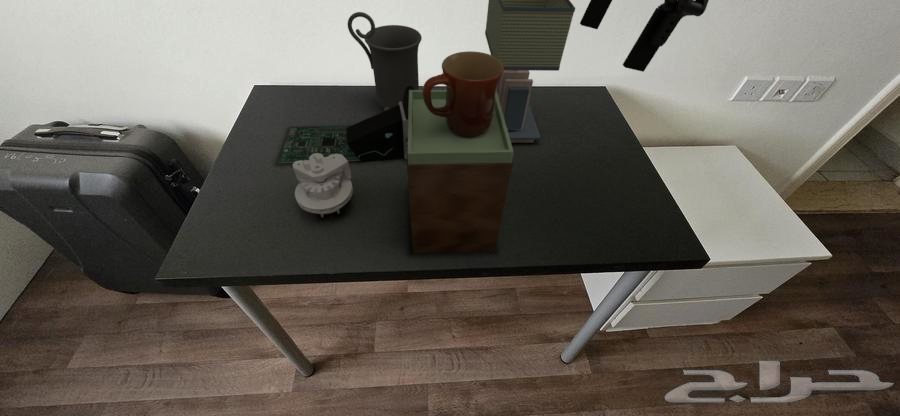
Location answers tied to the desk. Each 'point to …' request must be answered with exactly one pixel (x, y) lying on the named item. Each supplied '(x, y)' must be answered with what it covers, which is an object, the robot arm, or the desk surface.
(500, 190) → the plinth
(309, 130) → the circuit board
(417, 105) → the tray
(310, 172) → the mechanical part
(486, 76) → the mug
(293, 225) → the desk surface
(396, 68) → the mug
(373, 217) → the desk surface
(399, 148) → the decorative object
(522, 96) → the desk lamp
